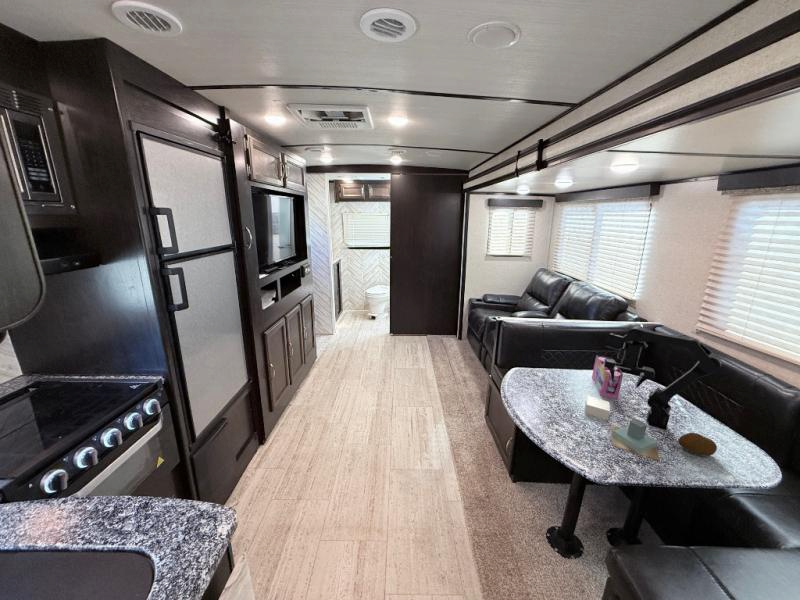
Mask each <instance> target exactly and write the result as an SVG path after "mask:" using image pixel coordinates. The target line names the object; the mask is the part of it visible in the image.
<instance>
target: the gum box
mask: <svg viewBox="0 0 800 600" xmlns="http://www.w3.org/2000/svg"><path fill="white" fill-rule="evenodd" d="M606 358H608V359H612V360H614V359H613V358H612V357H609V356H604V355H598V354H597V355H596V357H595V360H594V365H593V370H592V375H591V377H592V380H593V382H594V385H595V387H596V388H597V391H598V393H599V395H600V396H601V397H605V398H606V397H607V398H609V399H610V398H611V399H615V400H618V399H619V394H620V390H621V386H622V381H623V378H624V373H623V372H622V370H621V368H618V367H614V369H615V372H614V381H613V382H612V378H611V373H610V370H608V369H607V368H606V367H604V360H605V359H606Z"/></svg>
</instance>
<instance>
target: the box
mask: <svg viewBox="0 0 800 600" xmlns="http://www.w3.org/2000/svg"><path fill="white" fill-rule="evenodd" d="M584 407H585V408H584V414H587V415H589V416H593V417H596V418H599V419H602V420H606V421H608V420H609V417H610V412H611V410H610V409H611V408H610V402H609V401H607V400H604V399H601V398H596V397H593V396H589V395H586V401H585V405H584Z"/></svg>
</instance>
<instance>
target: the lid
mask: <svg viewBox="0 0 800 600" xmlns="http://www.w3.org/2000/svg"><path fill="white" fill-rule="evenodd" d="M628 424H629V425H627V426H623V427H620V429H617V430H614V431H613V434H612V436H613V437H615V438H616V439H618V440H619V441H621V442H622V443H624V444H625V445H627V446H629V447H630V448H632V449H633V450H635V451H636V452H638V453H639V454H640V453H642V452H645V451H647V450H650V449H653V448H655V447H657V446H658V442H659V441H658V440H657V439H655V438H654V437H652V436H649V435H647V434H646V431H647V428H648V424H646V423H644V422H643V421H641V420H639V419H637V418H636V419H632V420H630V421H629V423H628ZM651 437H652V438H651ZM653 438H654V439H655V440H654V439H653ZM657 448H658V447H657ZM639 454H638V455H639Z"/></svg>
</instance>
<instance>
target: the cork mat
mask: <svg viewBox="0 0 800 600" xmlns="http://www.w3.org/2000/svg"><path fill="white" fill-rule="evenodd" d="M620 428H621V427H619V426H617V425H614V424H611V425H610V436H611V446H613V447H616V448H619V449H621V450H625V451H627V450H628V451H627V452H630V451H631V452H630V453H634V454H637V455H639V453H638V452H636V451H635V450H633V449H632V448H630V447H629V446H627V445H625V444H624V443H622V442H621V441H619V440H618V439H616V438H615V437H613V436H612V434H613V431H614V430H617V429H620ZM650 437H651V438H653V439H654V440H656V439H655V437H652V436H650ZM642 455H643V456H642ZM640 456H642V457H645V456H646V457H645V458H648V457H650V458H649V459H651V458H652V459H651V460H654V459H655V461H657V460H658V461H657V462H661V459H660V455H659V451H658V447H655V448H653V449H650V450H647V451H645V452H642V453H640Z"/></svg>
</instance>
